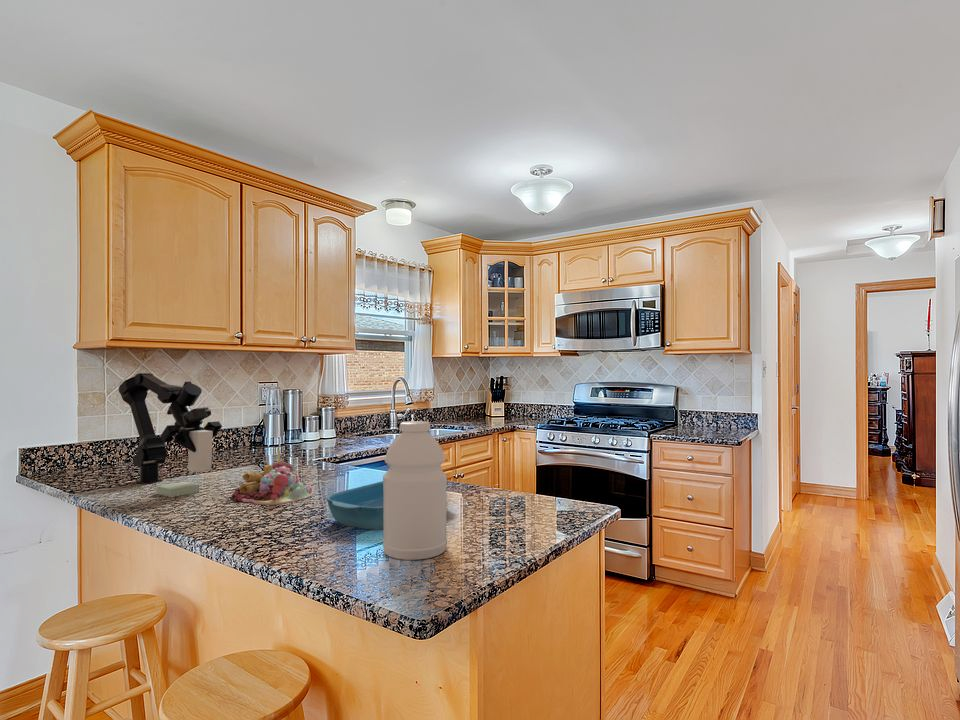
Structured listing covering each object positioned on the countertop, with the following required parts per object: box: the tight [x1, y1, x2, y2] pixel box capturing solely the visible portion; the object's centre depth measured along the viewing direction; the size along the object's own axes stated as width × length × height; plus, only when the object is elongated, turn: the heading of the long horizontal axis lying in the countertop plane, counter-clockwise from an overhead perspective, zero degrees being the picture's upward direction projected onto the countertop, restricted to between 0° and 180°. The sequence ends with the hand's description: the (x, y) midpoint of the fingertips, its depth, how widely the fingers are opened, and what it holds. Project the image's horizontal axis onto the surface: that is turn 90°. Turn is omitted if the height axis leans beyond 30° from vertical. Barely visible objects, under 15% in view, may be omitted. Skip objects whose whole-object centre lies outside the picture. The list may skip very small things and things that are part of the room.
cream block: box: [187, 430, 214, 473], centre depth 181 cm, size 5×5×13 cm
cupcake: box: [271, 448, 294, 474], centre depth 195 cm, size 9×8×12 cm
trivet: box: [156, 481, 200, 498], centre depth 176 cm, size 9×9×2 cm
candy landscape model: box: [230, 464, 314, 506], centre depth 173 cm, size 25×24×9 cm
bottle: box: [382, 420, 448, 561], centre depth 119 cm, size 14×14×28 cm
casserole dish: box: [326, 480, 449, 531], centre depth 149 cm, size 37×22×7 cm, turn 148°
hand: (202, 450), depth 180 cm, fingers closed on cream block, 5 cm apart
